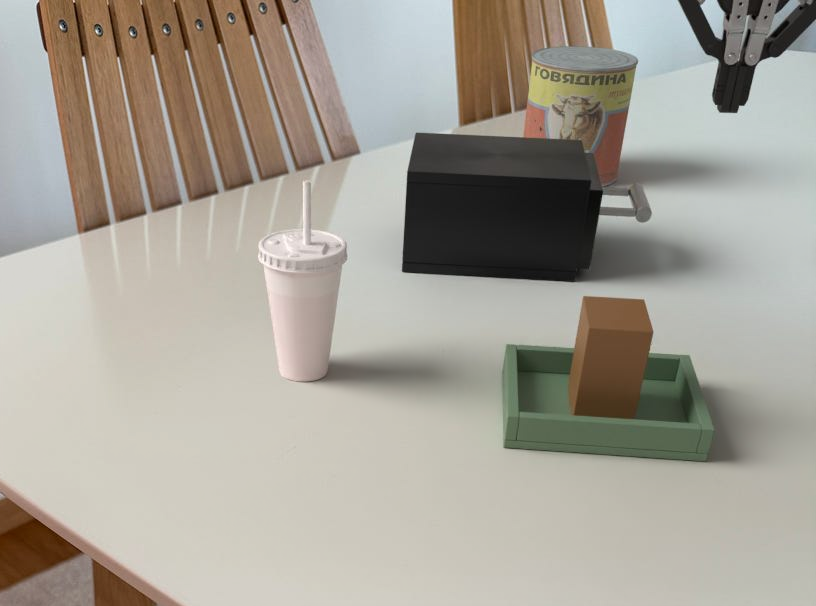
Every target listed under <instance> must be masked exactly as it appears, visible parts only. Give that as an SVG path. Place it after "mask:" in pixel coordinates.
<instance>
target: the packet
mask: <svg viewBox="0 0 816 606" xmlns="http://www.w3.org/2000/svg"><path fill="white" fill-rule="evenodd" d="M653 338H654V328H653V325H652V321H651V319H650V315H649V312H648V308H647V305H646V301H645V298H643V299H642V298H624V297H611V296H610V297H607V296H590V295H583V296H582V300H581V307H580V314H579V319H578V324H577V331H576V337H575V342H574V343H575V344H574V346H573V348H574V353H573V359H572V365H571V371H570V377H569V383H568V395H569V403H570V411H571V415H576V416H591V417H606V418H621V419H635V415H636V410H637V406H638V401H639V396H640V392H641V387H642V383H643V378H644V374H645V369H646V364H647V360H648V355H649V353H650V350H651V345H652V341H653Z"/></svg>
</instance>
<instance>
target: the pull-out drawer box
mask: <svg viewBox="0 0 816 606" xmlns="http://www.w3.org/2000/svg"><path fill="white" fill-rule="evenodd" d="M585 155H586V160H587V164H588V168H589V172H590V176H591V187H590V193H589V199H588V205H587V211H586V217H585V224H584V230H583V236H582V242H581V248H580V254H579V260H578V267H577V270H591V265H592V259H593V253H594V248H595V241H596V235H597V229H598V224H599V218H600V216H607V217H625V218H626V217H627V218H635V220H636V221H637V222H639V223H641V224H643V223H647V222H648V221H650V220H651V218H652V216H653V213H652V212H653V211H652V209H651V205H650V203H649V200H648V197H647V194H646V192H645V189H644V187H643V185H642V184H641V183H632V184H631V185H630V187H614V186H604V187H602V184H601V181H600V177H599V173H598V169H597V165H596V161H595V157H594V154H593V153H585ZM603 196H614V197H615V196H616V197H617V196H618V197H629V200H630V204H631V206H632V207H617V206H616V207H615V206H601V205H602V200H603Z"/></svg>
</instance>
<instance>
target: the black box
mask: <svg viewBox="0 0 816 606" xmlns="http://www.w3.org/2000/svg"><path fill="white" fill-rule="evenodd" d="M405 187H406V188H405V205H404V223H403V224H404V225H403V243H402V258H401V259H402V263H401V272H402V273H418V274H419V273H420V274H433V275H450V276H451V275H452V276H453V275H454V276H470V277H471V276H472V277H473V276H474V277H490V278H506V279H524V280H541V281H556V282H557V281H562V282H575V281H576V278H577V271H578V269H577V267H578V260H579V254H580V248H581V242H582V236H583V230H584V224H585V217H586V211H587V205H588V199H589V193H590V187H591V176H590V172H589V168H588V164H587V160H586V155H585V151H584V147H583V143H582V140H570V139H548V138H526V137H521V136H502V135H478V134H461V133H460V134H459V133H457V134H455V133H439V132H438V133H436V132H415V133H414V138H413V143H412V148H411V153H410V157H409V162H408V166H407V171H406V186H405Z"/></svg>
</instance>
